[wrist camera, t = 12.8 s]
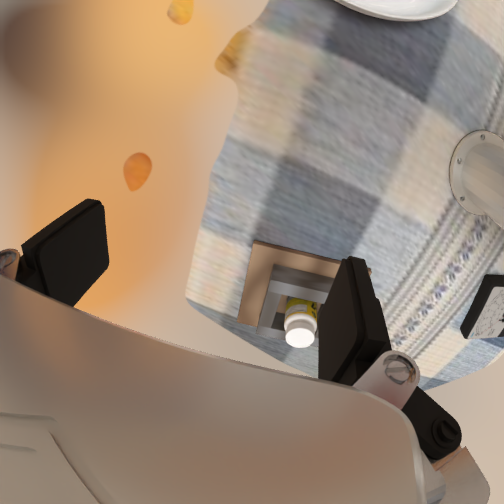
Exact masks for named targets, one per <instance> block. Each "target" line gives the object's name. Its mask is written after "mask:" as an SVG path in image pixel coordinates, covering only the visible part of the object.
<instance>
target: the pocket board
mask: <svg viewBox="0 0 504 504" xmlns="http://www.w3.org/2000/svg"><path fill="white" fill-rule="evenodd" d="M340 264H341V261H338V260H334V259H330V258H326V257H322V256H318V255H314V254H310V253H305V252H301V251H297V250H293V249H289V248H285V247H281V246H276V245H272V244H268V243H264V242H260V241H256V240H254V243H253V247H252V252H251V257H250V262H249V267H248V271H247V276H246V281H245V286H244V291H243V295H242V300H241V305H240V310H239V314H238V319H237V322H239V323H243V324H247V325H251V326H255V327H257V330H256V334H259V335H263V336H267V337H272V338H276V339H281V340H286V331H285V328H284V321H285V311H286V301H287V297H288V296H291V297H296V298H300V299H304V300H309V301H313V302H317V329H316V331H315V338H314V341H313V343H312V344H311V345H310V346H315V347H319V339H318V321H319V316H320V313H321V310H322V308H323V306H324V303H325V301H326V299H327V296H328V294H329V291H330V289H331V286H332V284H333V281H334V279H335V276H336V274H337V271H338V269H339V266H340ZM367 269H368V272H369V275H371V273H372V272H371V269H370V268H367Z"/></svg>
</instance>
